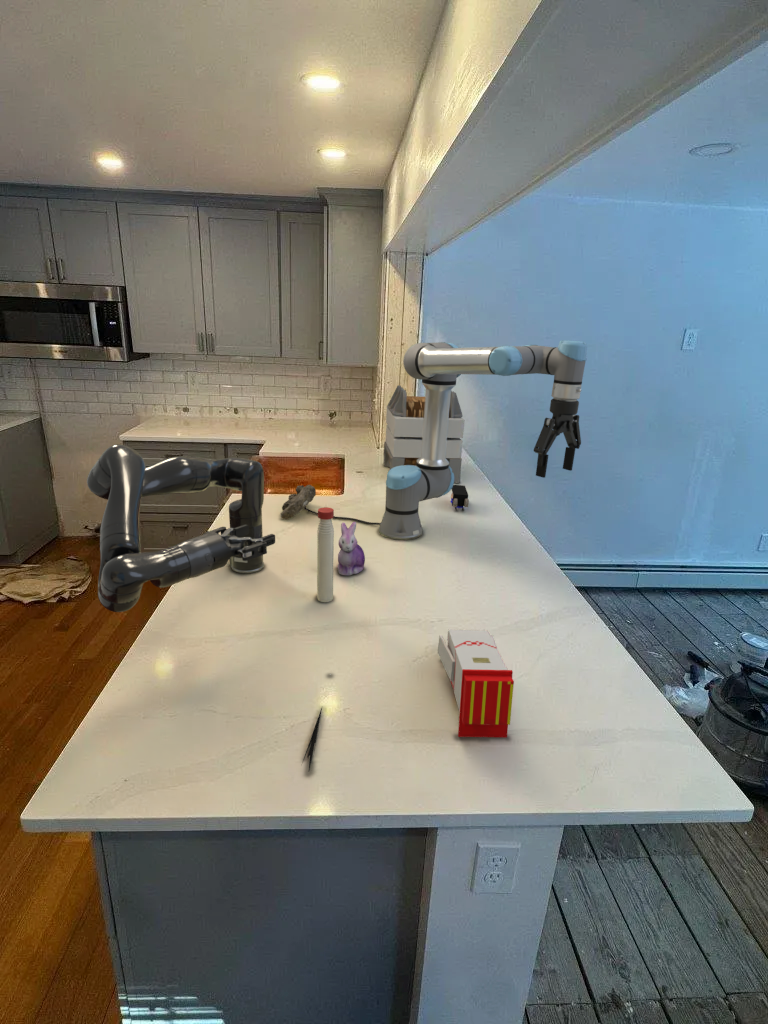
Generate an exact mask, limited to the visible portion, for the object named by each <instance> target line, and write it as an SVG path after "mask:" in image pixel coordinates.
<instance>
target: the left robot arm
mask: <svg viewBox="0 0 768 1024" xmlns="http://www.w3.org/2000/svg"><path fill="white" fill-rule="evenodd" d="M264 471H265V470H264V468H263V464H261V462H259V461H257V460H255V459H248V458H242V457H234V456H233V457H227V458H226V457H225V458H218V459H209V458H206V457H199V456H185V455H183V456H182V455H180V456H172V457H168V458H165V459H163V460H161V461H158V462H156V463H153V464H151V465H149V466H146V462H145V460H144V458H143V457H142V455H141V454H140V452H138V451H137V450H135V449H134V448H132V447H130V446H127V445H125V444H113V445H111V446H109V447H107V448H106V449H105V450H104V451H103V453H101V455H100V456H99V458H98V459H97V461H96V462H95V463H94V465H93V466H92V468H91V469H90V471H89V473H88V475H87V478H86V484H87V487H88V489H89V490H90V492H91V493H92V494H94V495H95V496H96V497H99V498H101V499H104V500H106V501H107V502H106V505H105V509H104V511H103V515H102V518H101V524H100V528H99V552H100V566H99V573H98V580H97V598H98V600H99V603H100V604H101V605H102V606H103V608H105V609H106V610H108V611H109V612H113V613H123V612H124V613H125V612H126V611H129V610H131V609H132V608H133V607H135V606H136V604H137V603H138V602H139V599H140V597H141V595H142V590H143V587H144V584H145V583H147V582H150V583H151V584H152V585H153V586H155V587H156V588H161V589H163V588H167V587H168V588H169V587H171V586H173V585H175V584H178V583H180V582H183V581H186V580H190V579H195V578H197V577H200V576H202V575H205V574H207V573H210V572H212V571H216V570H218V569H220V568H222V567H225V566H226V565H227V564H228V563H229V567H230V568H231V570H232V571H233V572H236V573H239V574H253V573H257V572H260V571H261V570H264V569H263V568H264V567H265V563H264V556H265V555H267V554H268V551H267V547H271V546H273V545H274V544H276V535H275V534H274V533H269V534H267V535H263V513H262V512H263V505H264V499H265V498H264V497H265V472H264ZM210 487H219V488H226V489H229V490H233V491H239V492H241V499H236V500H234V501H231V502H230V503H229V505H228V518H229V519H228V520H229V527H228V528H227V526H220V527H217V528H215V529H212V530H206V532H204V533H203V534H202V535H198V536H195V537H192V538H189V539H186V540H183V541H181V542H179V543H177V544H174V545H171V546H169V547H166V548H164V549H160V550H157V551H143V552H142V551H141V550H142V545H141V544H142V543H141V542H142V541H141V530H140V529H141V528H140V520H141V519H140V517H141V516H140V515H141V504H142V503H141V501H142V498H143V497H150V496H159V495H161V496H162V495H175V494H176V495H177V494H179V495H181V494H185V495H186V494H198V493H202V492H205V491H206V490H208V488H210Z"/></svg>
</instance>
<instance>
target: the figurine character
mask: <svg viewBox="0 0 768 1024" xmlns="http://www.w3.org/2000/svg"><path fill="white" fill-rule="evenodd" d="M449 502H450V504H451V506H452V507H453V508H454V511H456V512H457V511H458V509H461V511H462V512H464V511H465V508H469V505H470V500H469V492H468V490H467V488H466V485H464V484H463V485H461V484H453V487H452V489H451V494H450V501H449Z"/></svg>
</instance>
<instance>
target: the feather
mask: <svg viewBox="0 0 768 1024" xmlns="http://www.w3.org/2000/svg"><path fill="white" fill-rule="evenodd" d="M329 675H330V676H331V675H332V674H331V673H330V674H329ZM322 710H323V707H321V708H320V710H319V713H318V716H317V719H316V723H315V725H314V728H313V731H312V733H311V737H310V739H309V742H308V745H307V748H306V751H305V754H304V757H303V760H302V763H301V767H302V765H303V763H304V761H305V758H308V759H309V760H308V762H307V763H308V764H307V766H308V771H310V770H311V766H312V765H311V764H312V760H313V757H315V756H314V755H315V751H316V749H315V746H317V739H318V733H319V729H320V722H321V717H322V712H323V711H322ZM313 754H314V755H313ZM306 755H307V757H306Z"/></svg>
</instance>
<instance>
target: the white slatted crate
mask: <svg viewBox="0 0 768 1024" xmlns="http://www.w3.org/2000/svg"><path fill="white" fill-rule="evenodd" d="M407 394H408V393H407V390H406V389H404V388H403V387H402V385H399V384H398V385H397V386H396V388H395V390H394V392H393V394H392V395H391V398H390V400H389V402H388V404H387V405H386V413H385V414H386V415H385V423H386V428H385V438H384V442H383V466H384V467H388V468H389V470H390V469H392V468H394V467H396V466H401V465H404V466H405V465H413V466H416V461H417V459H418V458H420V457H421V451H422V436H423V422H424V408H425V396H415V395H414V396H413V395H412V396H411V395H407ZM464 429H465V419H464V418H463V411H462V408H461V405H460V402H459V398H458V395H457V392H455V391H453V390H451V396H450V407H449V419H448V431H447V443H446V454H445V458H446V459H447V461H448V462H449V466H450V467H451V469H452V473H454V484H455V483H456V484H459V483H461V472H462V461H463V460H462V453H463V442H464V441H463V440H462V439H463V438H464V431H465V430H464Z"/></svg>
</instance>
